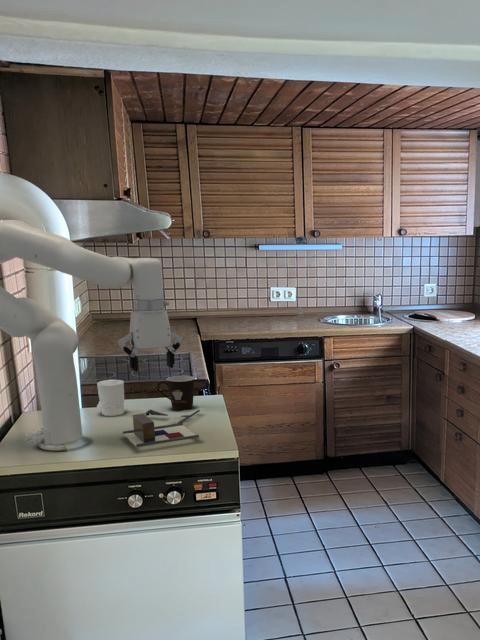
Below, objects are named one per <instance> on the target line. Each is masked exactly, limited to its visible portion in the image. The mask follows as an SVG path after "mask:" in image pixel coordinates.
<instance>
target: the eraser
mask: <svg viewBox="0 0 480 640" xmlns="http://www.w3.org/2000/svg"><path fill="white" fill-rule="evenodd" d="M132 424H133V425H132V426H133V430H134V434H135V435H136V436H137V437H138V438H139V439H140V440H141V441H142V442H143V443H147V442H154V441H155V429H154V427H155V422H154V421H153V420H152V419H151V418H149V416H146V413H137V414H132Z"/></svg>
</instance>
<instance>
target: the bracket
mask: <svg viewBox="0 0 480 640" xmlns="http://www.w3.org/2000/svg"><path fill="white" fill-rule="evenodd" d="M200 411H201V410H200V409H197V410H196V411H194V412H192V413H191V414H185V415H184V414H183V415H181V416H180V417H179V418H183V419H181V420H179V421H178V422H177V423H184V422H186V421H187V420H189V419H191V418H192V417H194V416H195V415H196V414H198V413H200ZM145 415H146V416H147V417H149V416H150V415H151V416H163V417H164V416H165V417H168V416H169V414H168V413H162V412H158V411H156V410H153V409H149V410H146V413H145Z"/></svg>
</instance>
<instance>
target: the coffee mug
mask: <svg viewBox="0 0 480 640" xmlns="http://www.w3.org/2000/svg"><path fill="white" fill-rule="evenodd" d="M195 378H196V377H194V376H191V375H174V376H169V377H167V378H166V381H159V382H158V383H157V385H156V388H157V391H158V392H159V393H160V395H162V396H164V397H165V398H167V399H168V400H169V401H170V404H171V408H172V409H171V410H172V411H174V412H184V411H191V410H193V409H194V393H195ZM162 384H164V385H166V386H167V388H168V394H169V396H168V395H167V394H165V393H164V392H163V391H162V390H161V389H160V385H162Z"/></svg>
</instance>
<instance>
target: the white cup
mask: <svg viewBox="0 0 480 640" xmlns="http://www.w3.org/2000/svg"><path fill="white" fill-rule="evenodd" d="M96 386H97V392H98V393H97V394H98V400H99V406H100V410H101V411H100V412H101V415H102V416H105V417H115V416H121V415H124V413H125V381H124V380H122V379H106V380H105V379H104V380H101V381H98V382H96Z"/></svg>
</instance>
